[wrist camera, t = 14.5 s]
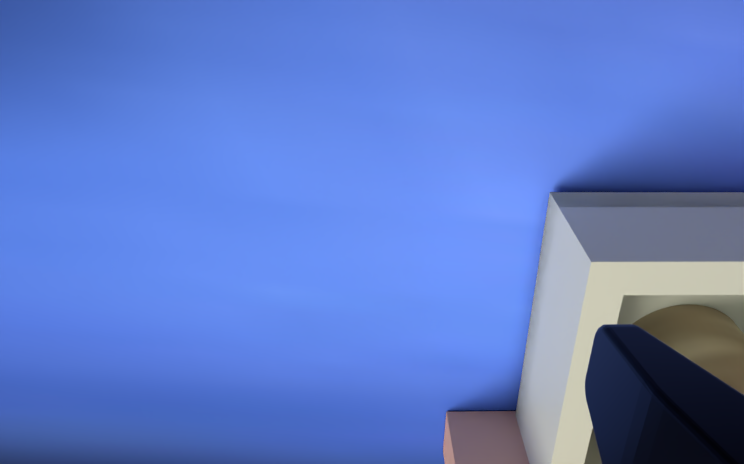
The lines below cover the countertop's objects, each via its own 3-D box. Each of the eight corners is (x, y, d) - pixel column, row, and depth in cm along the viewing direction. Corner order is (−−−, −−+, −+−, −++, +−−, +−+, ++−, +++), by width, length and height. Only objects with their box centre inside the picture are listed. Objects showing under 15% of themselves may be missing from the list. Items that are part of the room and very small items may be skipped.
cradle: (515, 414, 24) (542, 507, 21) (549, 192, 20) (591, 261, 16) (758, 413, 25) (825, 504, 21) (844, 192, 20) (947, 261, 17)
